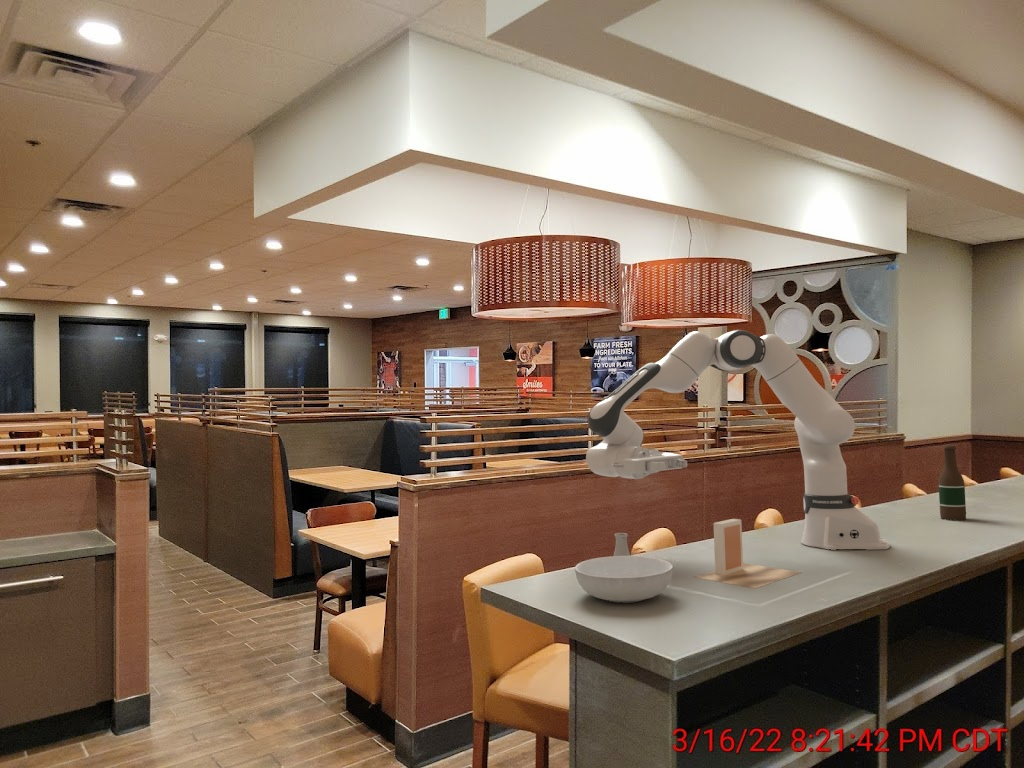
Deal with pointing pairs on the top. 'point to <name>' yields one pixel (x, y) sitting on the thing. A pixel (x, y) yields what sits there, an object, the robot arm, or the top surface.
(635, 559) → the serving bowl
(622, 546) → the flask
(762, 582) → the wooden board
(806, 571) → the top surface
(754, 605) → the top surface
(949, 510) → the beer bottle
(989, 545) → the top surface
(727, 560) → the tile
